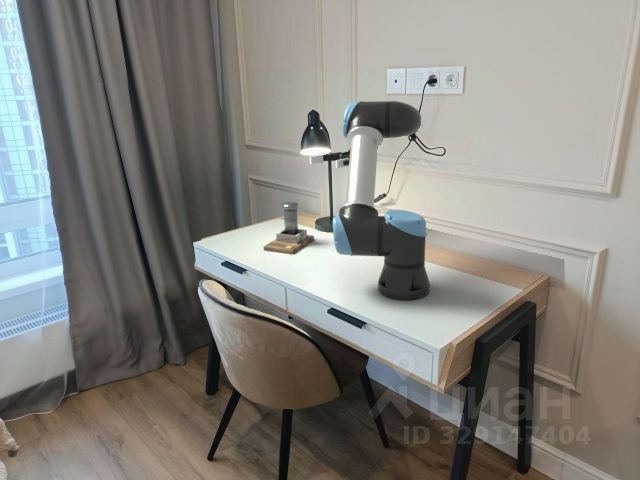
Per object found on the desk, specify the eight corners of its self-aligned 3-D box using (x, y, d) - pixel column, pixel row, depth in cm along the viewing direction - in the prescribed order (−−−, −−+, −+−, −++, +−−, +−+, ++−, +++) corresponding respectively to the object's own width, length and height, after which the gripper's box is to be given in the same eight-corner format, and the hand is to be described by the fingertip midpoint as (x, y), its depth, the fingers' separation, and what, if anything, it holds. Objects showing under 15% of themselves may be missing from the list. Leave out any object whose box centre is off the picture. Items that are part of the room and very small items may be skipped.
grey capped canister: (295, 242, 181) (293, 206, 176) (281, 240, 183) (279, 205, 178) (302, 237, 186) (300, 202, 181) (289, 236, 188) (287, 201, 183)
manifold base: (292, 254, 173) (291, 242, 171) (263, 250, 178) (262, 238, 176) (314, 239, 188) (313, 228, 187) (287, 235, 193) (286, 225, 192)
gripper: (385, 167, 185) (348, 176, 171) (337, 161, 202) (300, 168, 188) (385, 148, 183) (347, 155, 169) (337, 143, 200) (300, 149, 186)
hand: (323, 162), depth 179 cm, fingers open, 13 cm apart
